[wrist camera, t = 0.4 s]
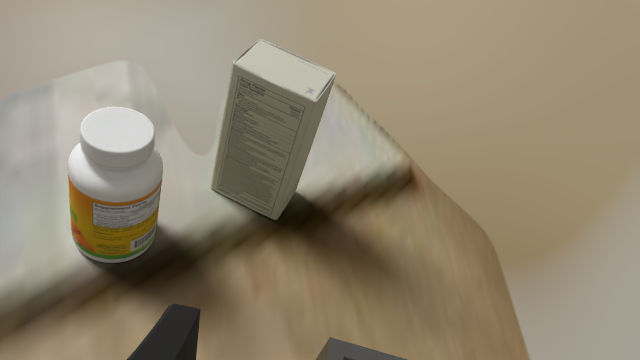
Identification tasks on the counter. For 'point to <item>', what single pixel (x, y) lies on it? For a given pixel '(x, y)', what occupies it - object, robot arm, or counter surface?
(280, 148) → the skincare box
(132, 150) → the supplement bottle
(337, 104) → the counter surface
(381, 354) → the socket
